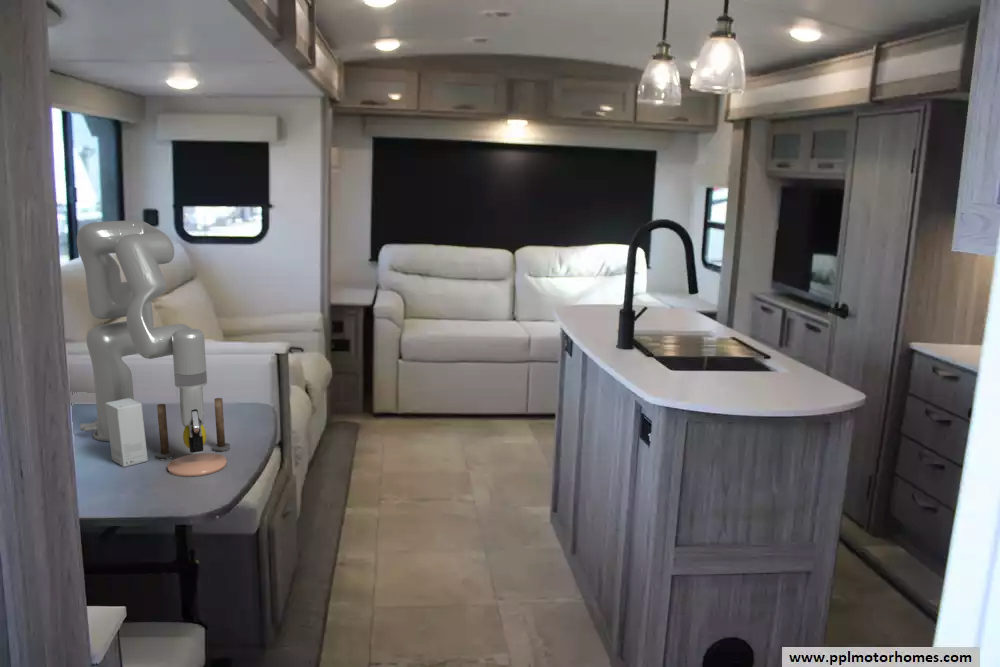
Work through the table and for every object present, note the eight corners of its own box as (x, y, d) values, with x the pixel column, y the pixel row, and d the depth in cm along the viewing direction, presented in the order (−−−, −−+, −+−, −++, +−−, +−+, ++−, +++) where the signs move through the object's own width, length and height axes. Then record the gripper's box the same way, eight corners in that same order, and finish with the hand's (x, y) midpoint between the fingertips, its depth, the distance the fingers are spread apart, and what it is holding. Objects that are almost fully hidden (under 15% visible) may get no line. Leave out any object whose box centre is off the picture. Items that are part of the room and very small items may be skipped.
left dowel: (156, 460, 211) (152, 408, 208) (155, 455, 215) (151, 403, 212) (174, 458, 213) (171, 406, 210) (173, 452, 217) (169, 401, 214)
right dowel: (213, 453, 217) (210, 402, 214) (211, 447, 221) (208, 397, 218) (231, 450, 219) (228, 400, 216) (228, 445, 223) (226, 396, 220)
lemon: (179, 452, 208) (177, 422, 206) (196, 446, 212) (194, 416, 211) (195, 456, 205) (193, 425, 203) (212, 449, 210) (210, 419, 208)
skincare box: (148, 462, 210) (143, 403, 207) (121, 468, 206) (116, 408, 203) (135, 453, 216) (130, 396, 213) (109, 459, 212) (104, 401, 208)
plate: (169, 480, 198) (169, 476, 198) (166, 461, 211) (165, 457, 210) (230, 471, 204) (229, 468, 204) (223, 454, 216) (223, 450, 216)
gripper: (172, 372, 211) (177, 439, 215) (177, 388, 196) (182, 460, 199) (203, 369, 214) (207, 435, 218) (210, 385, 199) (214, 456, 202)
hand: (195, 446), depth 208 cm, fingers closed on lemon, 5 cm apart
